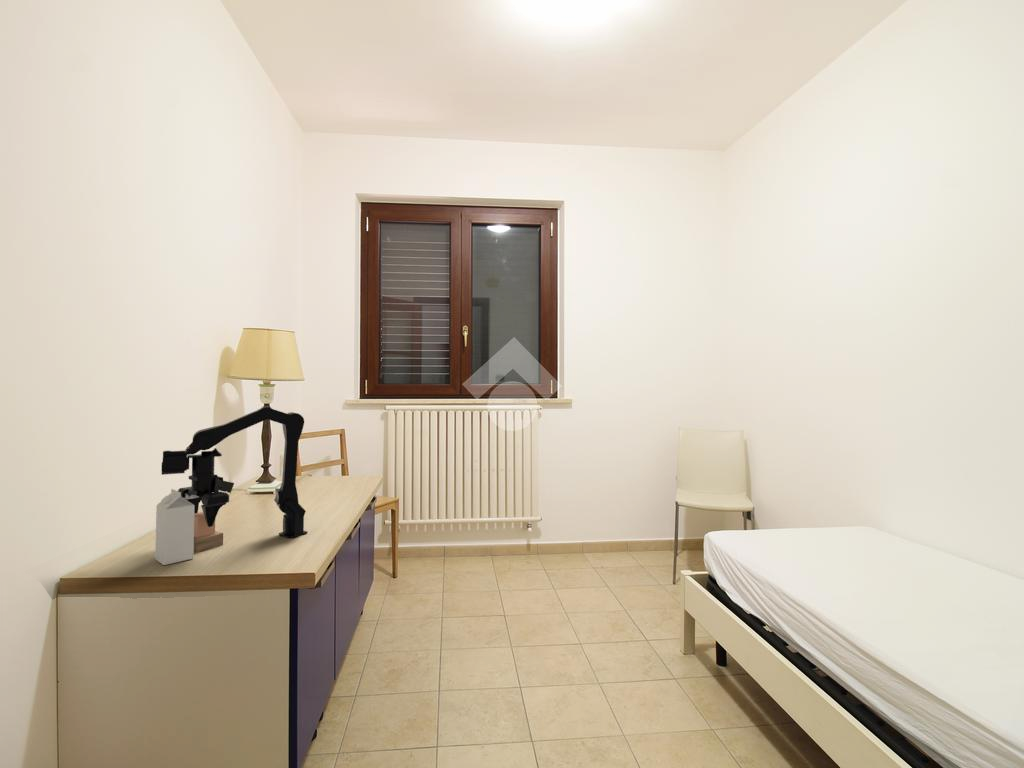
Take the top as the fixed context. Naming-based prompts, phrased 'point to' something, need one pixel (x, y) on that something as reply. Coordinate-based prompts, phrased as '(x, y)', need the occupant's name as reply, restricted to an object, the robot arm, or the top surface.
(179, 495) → the milk carton
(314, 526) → the top surface
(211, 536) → the walnut block
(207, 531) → the terracotta cube
